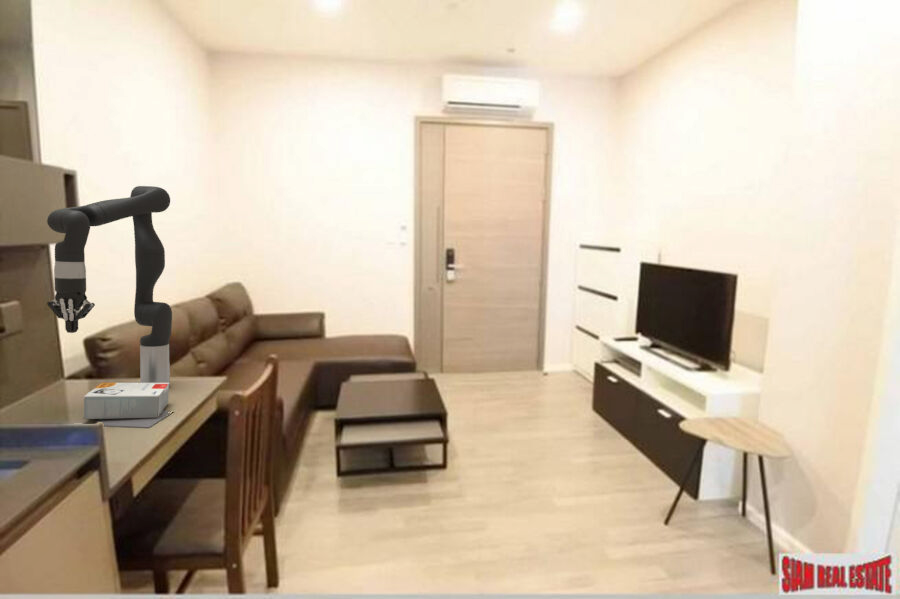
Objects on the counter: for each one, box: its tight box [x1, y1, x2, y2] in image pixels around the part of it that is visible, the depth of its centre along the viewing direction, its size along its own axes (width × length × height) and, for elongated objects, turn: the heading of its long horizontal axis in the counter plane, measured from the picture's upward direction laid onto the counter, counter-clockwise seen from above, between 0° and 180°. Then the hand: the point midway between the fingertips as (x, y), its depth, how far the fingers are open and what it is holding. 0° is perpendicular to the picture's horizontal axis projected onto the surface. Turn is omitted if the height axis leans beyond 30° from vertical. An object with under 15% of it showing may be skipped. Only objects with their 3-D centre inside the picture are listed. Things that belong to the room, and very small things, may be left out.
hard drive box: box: [82, 382, 170, 420], centre depth 152 cm, size 16×8×20 cm
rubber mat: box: [96, 410, 171, 429], centre depth 148 cm, size 14×17×1 cm
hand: (71, 332), depth 144 cm, fingers closed
